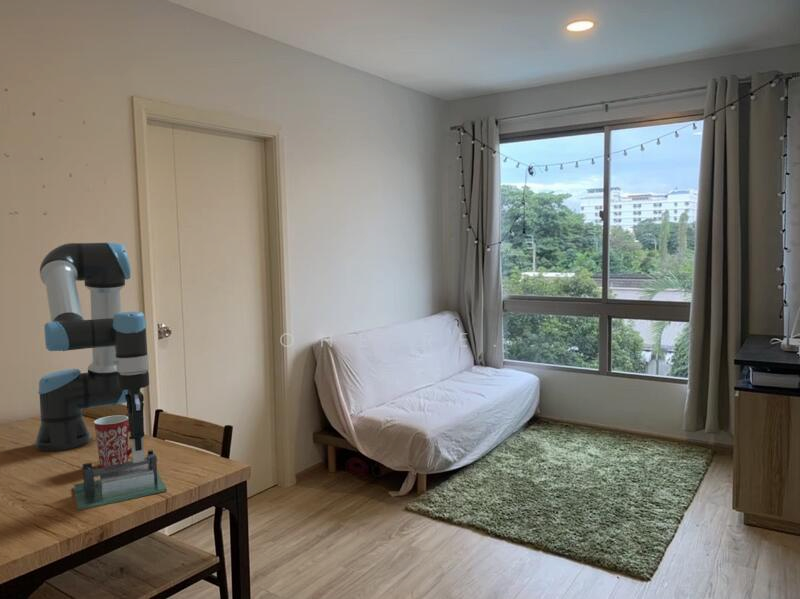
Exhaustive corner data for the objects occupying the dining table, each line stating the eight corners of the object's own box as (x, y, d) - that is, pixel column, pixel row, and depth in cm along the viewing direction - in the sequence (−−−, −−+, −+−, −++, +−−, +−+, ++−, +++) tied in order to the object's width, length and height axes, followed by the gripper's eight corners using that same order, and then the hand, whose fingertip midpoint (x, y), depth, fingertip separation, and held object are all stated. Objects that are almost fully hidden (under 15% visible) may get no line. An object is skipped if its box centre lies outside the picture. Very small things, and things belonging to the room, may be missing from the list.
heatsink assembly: (77, 509, 141) (76, 477, 141) (74, 487, 155) (72, 457, 154) (166, 491, 152) (165, 460, 151) (156, 472, 165) (154, 443, 165)
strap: (86, 479, 148) (85, 473, 148) (85, 476, 150) (84, 469, 150) (157, 462, 156) (156, 456, 156) (155, 459, 159) (154, 453, 159)
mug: (96, 473, 165) (93, 425, 164) (95, 463, 173) (93, 417, 172) (145, 465, 171) (143, 419, 170) (142, 455, 179) (140, 411, 178)
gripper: (113, 370, 157) (119, 457, 159) (119, 378, 146) (126, 472, 148) (144, 366, 161) (149, 451, 163) (152, 374, 150) (158, 465, 151)
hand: (138, 461), depth 155 cm, fingers closed
